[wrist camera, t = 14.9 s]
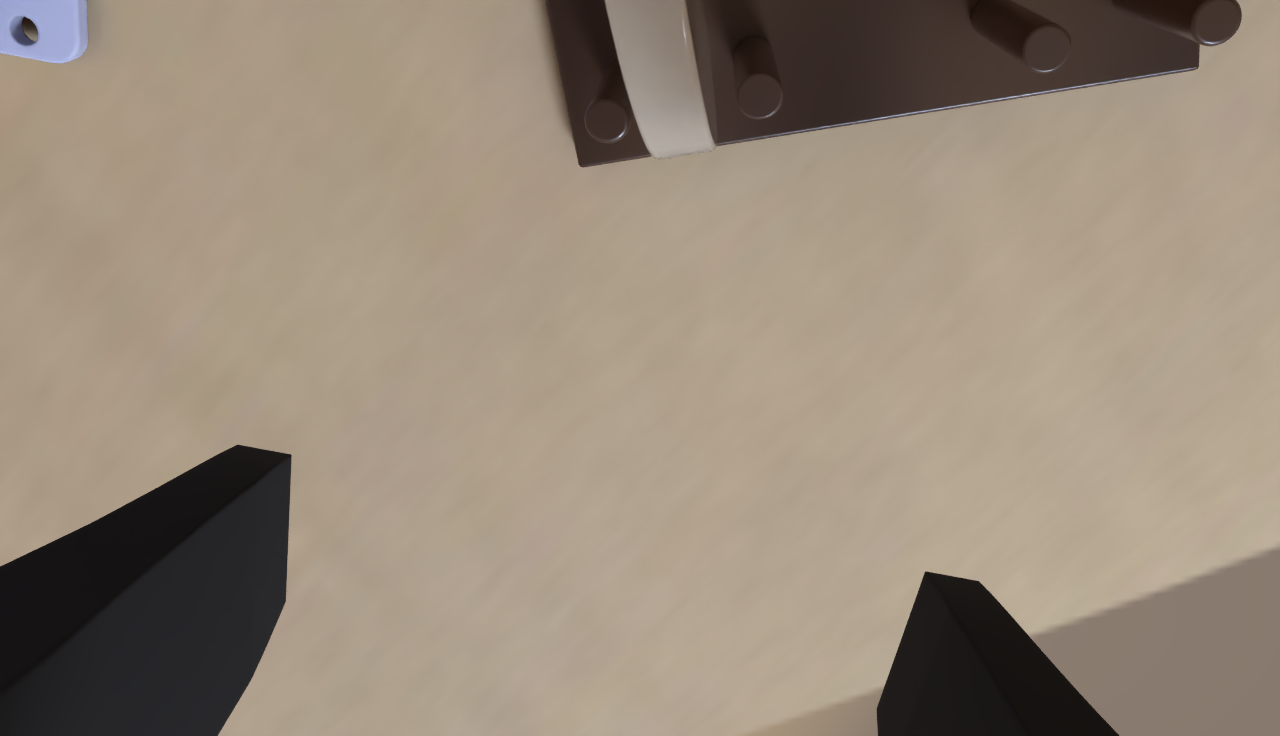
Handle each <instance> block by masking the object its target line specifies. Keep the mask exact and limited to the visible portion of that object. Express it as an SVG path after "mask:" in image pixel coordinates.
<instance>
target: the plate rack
mask: <svg viewBox="0 0 1280 736" xmlns="http://www.w3.org/2000/svg"><path fill="white" fill-rule="evenodd" d="M545 1H546V6H547V11H548V16H549V21H550V26H551V31H552V35H553V40H554V45H555V50H556V55H557V60H558V65H559V70H560V75H561V80H562V85H563V89H564V94H565V99H566V104H567V109H568V114H569V119H570V124H571V129H572V134H573V139H574V143H575V148H576V153H577V158H578V163H579V165H580V167H589V166H595V165H602V164H608V163H614V162H620V161H627V160H633V159H639V158H646V157H652V156H651V154H650V153H649V151H648V149H647V147H646V146H645V144H644V142H643V139H642V137H641V134H640V132H639V129H638V126H637V123H636V121H635V118H634V115H633V111H632V108H631V105H630V101H629V98H628V95H627V91H626V88H625V84H624V80H623V76H622V72H621V69H620V65H619V61H618V57H617V53H616V48H615V44H614V40H613V36H612V32H611V28H610V23H609V19H608V14H607V10H606V5H605V0H545ZM703 1H704V9H705V17H706V25H707V33H708V41H709V50H710V59H711V68H712V77H713V87H714V97H715V108H716V121H717V145H716V146H721V145H727V144H734V143H740V142H746V141H752V140H759V139H765V138H771V137H778V136H784V135H790V134H796V133H803V132H809V131H815V130H822V129H828V128H834V127H840V126H847V125H853V124H859V123H866V122H872V121H878V120H884V119H891V118H897V117H903V116H910V115H916V114H922V113H928V112H935V111H941V110H947V109H954V108H960V107H966V106H972V105H979V104H985V103H991V102H998V101H1004V100H1010V99H1016V98H1023V97H1029V96H1035V95H1042V94H1048V93H1054V92H1060V91H1067V90H1073V89H1079V88H1086V87H1092V86H1098V85H1104V84H1111V83H1117V82H1123V81H1130V80H1136V79H1142V78H1148V77H1155V76H1161V75H1167V74H1174V73H1180V72H1186V71H1192V70H1196V69H1198V67H1199V48H1200V44H1201V45H1204V46H1215V45H1219V44H1222V43H1224V42H1225V41H1227V40H1228V39H1230V38H1231V37H1232V36H1233V35H1234V34H1235V33H1236V31H1237V30H1238V28H1239V26H1240V23H1241V17H1242V12H1241V8H1240V5H1239V3H1238V2H1237V1H1236V0H703Z"/></svg>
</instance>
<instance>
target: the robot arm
mask: <svg viewBox="0 0 1280 736" xmlns="http://www.w3.org/2000/svg"><path fill="white" fill-rule="evenodd" d="M24 17H27V18H29V19H31V21H32V22H33V23H34V24H35V25H36V27H37V30H38V39H37V41H36V42H35V41H33V40H31V39H29V38H28V36H27V35H26V34H25V33H24V30H23V27H22V21H23V18H24ZM87 43H88V22H87V0H0V53H3V54H8V55H14V56H19V57H24V58H29V59H35V60H40V61H45V62H51V63H66V62H69V61H72V60H74V59H76V58H78V57H80V56H82V54H83V53H84V51H85V50H86V49H87ZM290 479H291V455H290V454H285V453H280V452H274V451H269V450H263V449H258V448H252V447H247V446H242V445H236V446H234V447H232V448H230V449H228V450H226V451H224V452H222V453H220V454H218V455H216V456H214V457H212V458H210V459H209V460H207V461H205V462H203V463H201V464H199V465H198V466H196V467H194V468H192V469H190V470H189V471H187V472H185V473H183V474H181V475H180V476H178V477H176V478H174V479H172V480H170V481H169V482H167V483H165V484H163V485H161V486H160V487H158V488H156V489H154V490H152V491H150V492H149V493H147V494H145V495H143V496H141V497H139V498H137V499H136V500H134V501H132V502H130V503H128V504H126V505H124V506H122V507H121V508H119V509H117V510H115V511H113V512H111V513H109V514H107V515H106V516H104V517H102V518H100V519H98V520H96V521H94V522H92V523H90V524H88V525H86V526H84V527H82V528H80V529H78V530H76V531H74V532H72V533H70V534H68V535H65V536H63V537H61V538H59V539H57V540H55V541H53V542H51V543H49V544H47V545H45V546H43V547H40V548H38V549H36V550H34V551H32V552H30V553H28V554H26V555H24V556H22V557H20V558H17V559H15V560H13V561H11V562H9V563H7V564H5V565H3V566H0V736H218V734H219V732H220V731H221V729H222V727H223V726H224V724H225V722H226V721H227V719H228V718H229V716H230V714H231V713H232V711H233V709H234V708H235V706H236V704H237V703H238V701H239V699H240V698H241V696H242V694H243V693H244V691H245V689H246V687H247V686H248V684H249V682H250V681H251V679H252V677H253V675H254V672H255V670H256V668H257V666H258V664H259V662H260V659H261V657H262V655H263V653H264V651H265V648H266V646H267V644H268V642H269V639H270V637H271V635H272V632H273V630H274V628H275V625H276V623H277V621H278V618H279V616H280V613H281V611H282V609H283V606H284V604H285V602H286V580H287V555H288V530H289V504H290ZM877 724H878V736H1119V735H1118V734H1117V733H1116V732H1115V731H1114V730H1113V728H1112V727H1111V726H1110V725H1109V724H1108V723H1107V722H1106V721H1105V720H1104V719H1103V718H1102V717H1101V716H1100V715H1099V714H1098V713H1097V712H1096V711H1095V709H1093V707H1092V706H1091V705H1090V704H1089V703H1088V702H1087V701H1086V700H1085V699H1084V698H1083V696H1082V695H1081V694H1080V693H1079V692H1078V691H1077V690H1076V689H1075V688H1074V687H1073V685H1072V684H1071V683H1070V682H1069V681H1068V680H1067V679H1066V678H1065V677H1064V675H1063V674H1062V673H1061V672H1060V671H1059V670H1058V669H1057V668H1056V667H1055V665H1054V664H1053V663H1052V662H1051V661H1050V660H1049V659H1048V657H1047V656H1046V655H1045V654H1044V653H1043V652H1042V651H1041V649H1040V648H1039V647H1038V646H1037V645H1036V644H1035V643H1034V641H1033V640H1032V639H1031V638H1030V637H1029V636H1028V635H1027V634H1026V632H1025V631H1024V630H1023V629H1022V628H1021V627H1020V626H1019V624H1018V623H1017V622H1016V621H1015V620H1014V619H1013V618H1012V616H1011V615H1010V614H1009V613H1008V612H1007V611H1006V610H1005V609H1004V607H1003V606H1002V605H1001V604H1000V603H999V602H998V601H997V600H996V599H995V598H994V596H993V595H992V594H991V593H990V592H989V591H988V590H987V589H986V588H985V587H984V586H983V585H982V584H981V583H980V582H979V581H974V580H969V579H964V578H958V577H953V576H947V575H942V574H936V573H931V572H926V571H925V574H924V577H923V580H922V582H921V585H920V588H919V591H918V594H917V597H916V599H915V602H914V605H913V608H912V611H911V613H910V616H909V619H908V622H907V625H906V628H905V630H904V633H903V636H902V639H901V642H900V645H899V647H898V650H897V653H896V656H895V659H894V662H893V664H892V667H891V670H890V673H889V676H888V679H887V681H886V684H885V687H884V690H883V693H882V695H881V698H880V701H879V704H878V707H877Z"/></svg>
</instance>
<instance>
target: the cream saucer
mask: <svg viewBox="0 0 1280 736" xmlns="http://www.w3.org/2000/svg"><path fill="white" fill-rule="evenodd" d="M605 5H606V10H607V14H608V19H609V23H610V28H611V32H612V36H613V40H614V44H615V48H616V53H617V57H618V61H619V65H620V69H621V72H622V76H623V80H624V84H625V88H626V91H627V95H628V98H629V101H630V105H631V108H632V111H633V115H634V118H635V121H636V123H637V126H638V129H639V132H640V134H641V137H642V139H643V142H644V144H645V146H646V147H647V149H648V151H649V153H650V154H651V156H652V157H654V158H655V159H659V160H660V159H667V158H673V157H679V156H686V155H692V154H698V153H705V152H711V151H712V150H714V149H715V148H716V145H717V121H716V108H715V97H714V87H713V77H712V68H711V59H710V50H709V41H708V33H707V25H706V17H705V9H704V1H703V0H605Z"/></svg>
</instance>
